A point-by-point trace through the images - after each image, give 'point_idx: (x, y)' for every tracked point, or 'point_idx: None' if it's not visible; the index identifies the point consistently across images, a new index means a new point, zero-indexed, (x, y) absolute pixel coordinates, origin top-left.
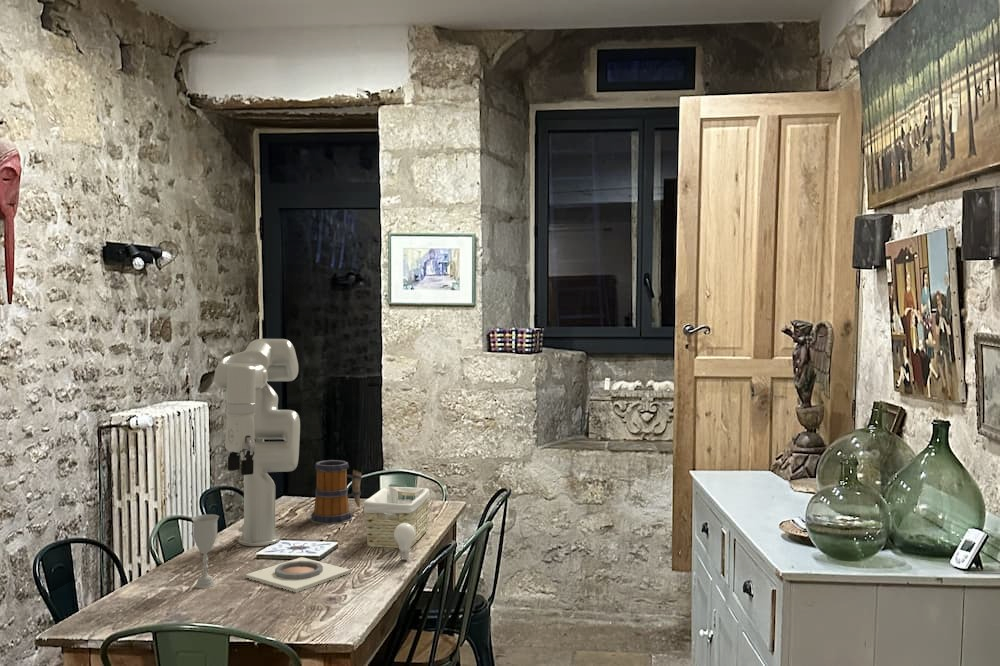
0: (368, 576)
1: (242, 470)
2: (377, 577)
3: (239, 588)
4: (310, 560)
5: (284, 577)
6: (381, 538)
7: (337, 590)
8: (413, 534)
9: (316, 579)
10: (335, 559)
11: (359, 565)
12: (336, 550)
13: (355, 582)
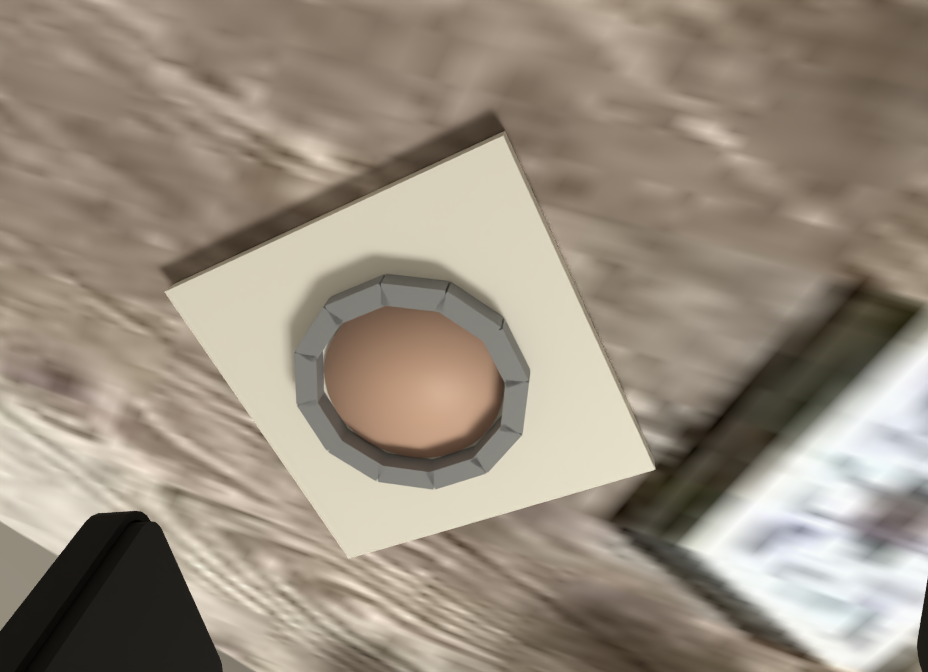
0: (287, 578)
1: (46, 586)
2: (262, 595)
3: (338, 52)
4: (572, 482)
5: (336, 296)
6: None
7: (154, 431)
8: None
9: (268, 407)
10: (580, 572)
11: (443, 607)
12: (717, 623)
13: (231, 517)
